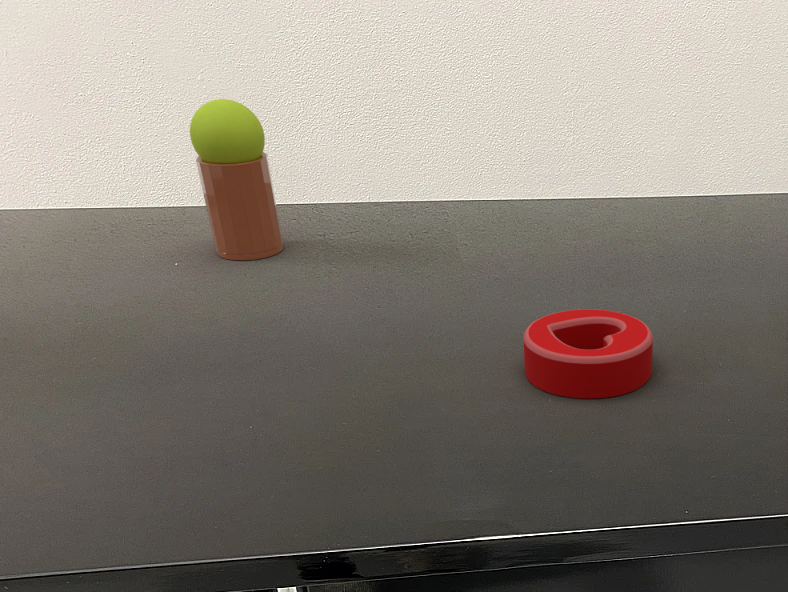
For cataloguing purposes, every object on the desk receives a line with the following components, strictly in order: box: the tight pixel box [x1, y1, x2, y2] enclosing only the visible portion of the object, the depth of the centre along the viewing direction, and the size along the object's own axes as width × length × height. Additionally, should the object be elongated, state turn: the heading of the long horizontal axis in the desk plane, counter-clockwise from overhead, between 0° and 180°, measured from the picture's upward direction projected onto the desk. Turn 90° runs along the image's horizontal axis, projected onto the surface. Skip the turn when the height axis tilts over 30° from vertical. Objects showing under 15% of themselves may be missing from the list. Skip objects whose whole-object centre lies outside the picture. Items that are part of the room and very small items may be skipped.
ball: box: [189, 98, 266, 164], centre depth 89 cm, size 6×6×6 cm
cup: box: [195, 151, 284, 261], centre depth 93 cm, size 6×6×9 cm
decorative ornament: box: [522, 308, 654, 400], centre depth 72 cm, size 10×10×3 cm
